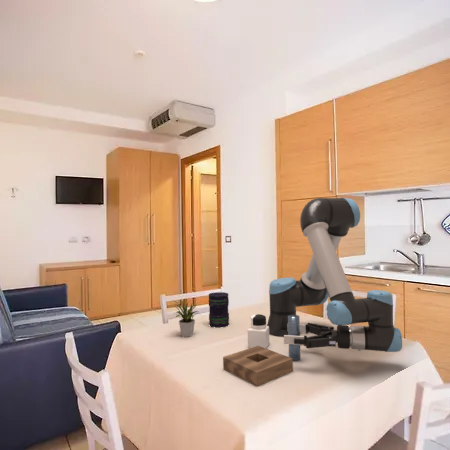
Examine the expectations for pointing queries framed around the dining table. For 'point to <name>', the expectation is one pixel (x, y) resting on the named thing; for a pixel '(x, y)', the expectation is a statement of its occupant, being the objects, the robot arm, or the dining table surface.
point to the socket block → (258, 365)
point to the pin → (294, 331)
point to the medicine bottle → (258, 332)
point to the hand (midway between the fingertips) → (285, 333)
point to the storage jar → (218, 309)
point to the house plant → (186, 319)
